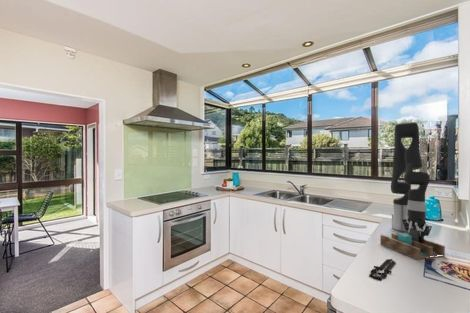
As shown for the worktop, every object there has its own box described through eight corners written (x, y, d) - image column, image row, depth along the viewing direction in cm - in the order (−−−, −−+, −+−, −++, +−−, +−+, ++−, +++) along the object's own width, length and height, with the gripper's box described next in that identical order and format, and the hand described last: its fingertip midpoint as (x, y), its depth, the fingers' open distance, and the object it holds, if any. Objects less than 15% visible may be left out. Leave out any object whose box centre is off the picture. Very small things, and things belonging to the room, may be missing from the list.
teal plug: (398, 247, 118) (398, 233, 118) (403, 246, 119) (403, 233, 119) (405, 250, 114) (405, 236, 114) (411, 249, 115) (411, 235, 115)
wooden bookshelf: (380, 243, 125) (380, 234, 125) (404, 241, 129) (404, 232, 129) (417, 259, 105) (417, 249, 105) (444, 255, 110) (444, 245, 110)
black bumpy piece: (388, 259, 106) (388, 256, 106) (404, 265, 101) (404, 262, 101) (364, 275, 91) (364, 272, 91) (381, 282, 86) (381, 279, 86)
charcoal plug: (409, 241, 120) (409, 228, 120) (415, 240, 121) (415, 228, 121) (417, 244, 116) (417, 230, 116) (423, 243, 117) (423, 230, 117)
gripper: (398, 206, 124) (397, 237, 124) (425, 212, 110) (425, 247, 110) (408, 205, 126) (408, 236, 126) (436, 211, 112) (436, 245, 112)
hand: (416, 241), depth 118 cm, fingers closed on charcoal plug, 4 cm apart
